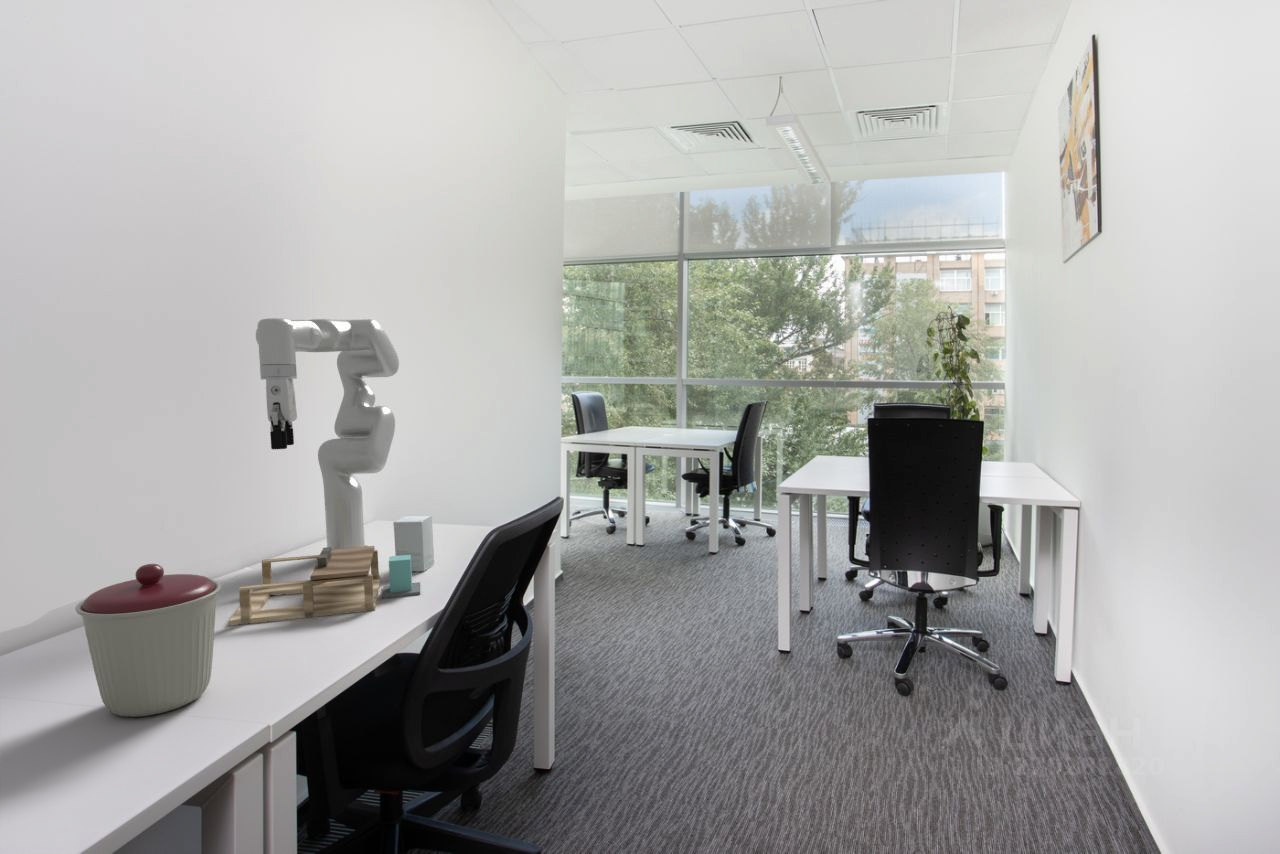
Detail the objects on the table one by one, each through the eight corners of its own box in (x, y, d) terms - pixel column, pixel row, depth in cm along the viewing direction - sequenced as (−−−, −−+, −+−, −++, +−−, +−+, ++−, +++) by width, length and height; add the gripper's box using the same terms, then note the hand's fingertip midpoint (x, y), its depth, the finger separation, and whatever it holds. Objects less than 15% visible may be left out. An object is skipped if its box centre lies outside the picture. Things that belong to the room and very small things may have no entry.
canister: (54, 719, 107) (42, 575, 106) (173, 671, 124) (164, 546, 122) (142, 739, 101) (130, 586, 99) (254, 685, 118) (246, 554, 116)
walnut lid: (324, 553, 173) (323, 541, 173) (374, 549, 176) (374, 537, 176) (310, 580, 150) (309, 566, 150) (368, 574, 153) (367, 561, 153)
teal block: (391, 587, 168) (389, 556, 168) (412, 584, 170) (410, 554, 169) (390, 592, 164) (388, 561, 164) (411, 590, 165) (410, 559, 165)
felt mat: (383, 588, 170) (383, 585, 170) (420, 584, 172) (419, 582, 172) (381, 598, 162) (381, 595, 162) (420, 594, 164) (420, 591, 164)
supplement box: (435, 564, 190) (433, 515, 189) (424, 572, 183) (421, 521, 182) (407, 564, 191) (405, 515, 190) (395, 572, 184) (392, 521, 183)
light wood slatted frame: (254, 591, 169) (252, 560, 169) (380, 579, 177) (378, 549, 176) (229, 625, 146) (227, 589, 146) (375, 610, 154) (373, 575, 154)
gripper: (290, 372, 164) (294, 449, 165) (301, 372, 181) (305, 443, 182) (252, 373, 162) (257, 451, 163) (267, 373, 179) (272, 444, 180)
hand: (283, 447), depth 173 cm, fingers open, 9 cm apart
